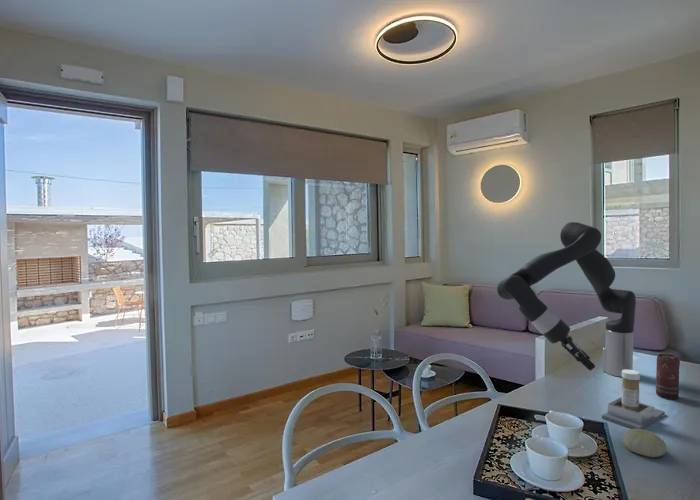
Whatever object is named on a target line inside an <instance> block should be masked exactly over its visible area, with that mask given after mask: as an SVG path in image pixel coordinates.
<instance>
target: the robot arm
mask: <svg viewBox="0 0 700 500" xmlns="http://www.w3.org/2000/svg"><path fill="white" fill-rule="evenodd" d="M559 235H560V236H559V237H560V241H561V243H562V246H564V247H562V248H560V249H557V250H553V251H548V252H546V253H545V252H544V253H542V254H539V255H537V256H535V257H533V258H532V259H530V260H529V261H528V262H526V263H525V264H524V265H522V266H521V267H520V268H519V269H518V270H516V271H515V272H512V273H511V274H510V275H508V276H506V277H505V278H503V279H502V280H500V281H499V283H498V284H497V287H496V289H497V290H496V291H497V295H499V297H500V298H502V299H503V300H509V301H510V300H513V299H514V300H515V301H516V302H517V304H518V305H519V307H518V308H519V311H520V313H521V315H523V316H524V317H525V318H526V319H527V320H528V322H530V323H531V324H532V325H533V327H534V328H535V329H536V330H537V331H539V333H540V334H541V335H542V336H543V337H544V338H545V339H546V340H547V341H549V342H550V343H551V344H557V343H559V342H561V343H560V345H561V347H562V348H563V350H565V351H567V352H568V354H569V355H570V356H571V357H573V358H574V359H575V360H576V361H577V362H580V363H581V364H582V365H583V367H585V368H586V369H587V370H588V371H592V370H593V369H595V368H596V365H595V364H594V362H592V361H591V360H590V359H591V358H590V356H589V355H588V353H586V352H585V351H584V350H583V349H582V347H581V346H580V345H579V343H578V342H577V341H576V340H575V338H574V337H573V336H572V335H570V336H569V335H568V334H569V333H570V331H571V328H570V326H569V325H568V324H567V323H566V322H565V321H564V320H563V319H561V318H560V317H559V316H558V315H557V313H555V312H554V311H553V310H552V309H551V308H549V307H548V306H547V305H546V304H545V303H544V302H543V301H542V300H540V298H538V297H537V294H536V293H535V292H534V289H532V286H533V285H536V284H537V283H539V282H540V281H542V280H543V279H544V278H546V277H547V276H548V275H550V274H552V273H554V272H555V271H556V270H558V269H560V268H562V267H564V266H566V265H568V264H570V263H573V262H574V261H576V262H577V265H578V266H579V268H580V269H581V270H582V272H583V274H584V276H585V277H586V279H587V281H588V282H589V283H590V285H591V287H592V288H593V290H594V291H595V294H596V296H597V299H598V300H599V303H600V305H601V307H602V309H603V310H604V311H606V312H609V313H613V314H621V317H620V318H619V319H615V320H609V321H607V322H605V346H604V347H603V348H602V372H604V373H606V374H608V375H610V376H615V377H618V378H619V377H621V378H622V370H626V369H628V370H634V367H633V366H634V365H633V364H634V329H635V328H634V327H635V319H636V318H635V317H636V315H635V314H636V305H637V303H636V301H637V298H636V295H635V293H634V291H632V290H628V289H627V290H626V289H615V288H611V286H612V284H613V283H614V281H615V279H616V272H615V269H614V268H613V265H612V263H611V262H610V261H609V260H608V258H607V257H606V256H604V255H603V254H602V253H601V252H599V251H598V250H597V248H598V247H599V245H600V244H601V240H602V233H601V231H600V230H599V229H598V228H596V227H593V226H590V225H588V224H584V223H581V222H574V221H570V222H567V223H565V224H564V225H563V226H562V228H561V230H560V234H559Z"/></svg>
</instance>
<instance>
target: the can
mask: <svg viewBox="0 0 700 500" xmlns="http://www.w3.org/2000/svg"><path fill="white" fill-rule="evenodd" d="M680 365H681V359H680V357H679V356H676V355H673V354H669V353H668V354H667V353H659V354H658V355H657V357H656V375H655V376H656V377H655V395H657V396H658V397H659V398H662V399H666V400H671V401H674V400H675V401H676V400H677V399H678V398H679V396H680V395H679V393H680V390H679V389H680Z"/></svg>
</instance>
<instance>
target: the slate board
mask: <svg viewBox="0 0 700 500" xmlns="http://www.w3.org/2000/svg"><path fill="white" fill-rule="evenodd" d="M665 415H666V412H665V411H664V410H660V409H657V408H655V407H654V417H653V418H651V419H649V420H648V421H646V422H645V423H643V424H642V425H640V424H637V423H634V422H631V421H628V420H625V419H622V418H619V417H616V416H613V415H610V414H608V411H607V412H604V413H603V414H602V415H601V419H602V420H606V421H609V422H611V423H614V424H616V425H621V426H622V427H625V428H628V429H643V430H645V428H647V427H648V426H650V425H651V424H653V423H655V422H656V421H657V420H659V419H660V418H662V417H664V416H665Z"/></svg>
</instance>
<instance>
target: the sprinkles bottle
mask: <svg viewBox="0 0 700 500" xmlns="http://www.w3.org/2000/svg"><path fill="white" fill-rule="evenodd" d="M621 379H622V381H621V382H622V383H621V386H622V387H621V397H622V407H623V408H626V409H629V410H633V411H636V412H639V402H640V379H641V373H640V372H639V371H637V370H634V369H633V370H628V369H626V370H622V377H621Z"/></svg>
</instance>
